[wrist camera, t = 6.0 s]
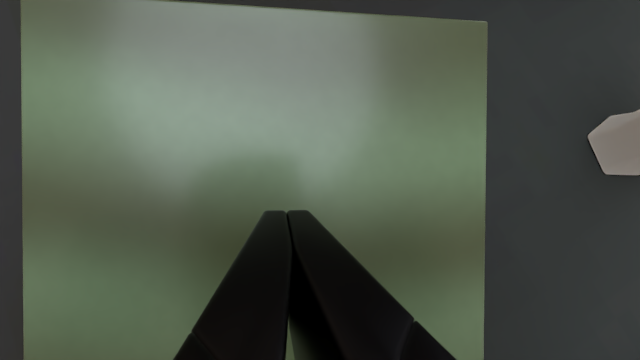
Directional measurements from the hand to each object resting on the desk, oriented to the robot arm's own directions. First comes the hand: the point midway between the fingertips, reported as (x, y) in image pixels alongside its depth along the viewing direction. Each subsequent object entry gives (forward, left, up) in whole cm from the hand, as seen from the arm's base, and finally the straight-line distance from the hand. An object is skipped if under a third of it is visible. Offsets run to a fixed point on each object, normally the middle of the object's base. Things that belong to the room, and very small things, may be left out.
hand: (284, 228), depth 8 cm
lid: (0, 0, -4) cm, 4 cm away
